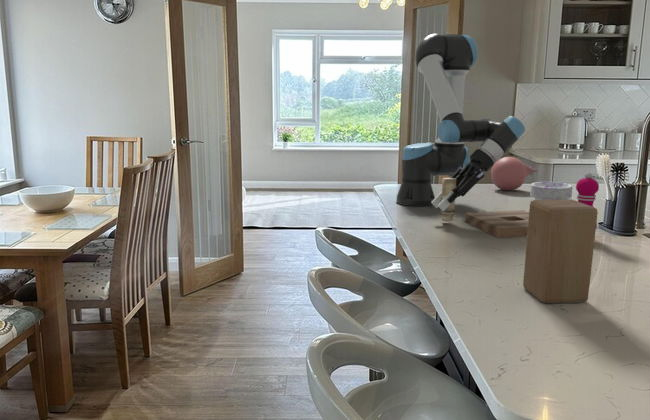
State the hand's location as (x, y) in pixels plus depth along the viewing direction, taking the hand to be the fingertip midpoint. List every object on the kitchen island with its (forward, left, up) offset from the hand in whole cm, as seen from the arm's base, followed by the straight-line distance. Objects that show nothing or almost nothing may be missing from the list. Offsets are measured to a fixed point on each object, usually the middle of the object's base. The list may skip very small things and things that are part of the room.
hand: (437, 206), depth 178 cm
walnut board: (+10, +22, -6) cm, 25 cm away
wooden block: (+67, -4, -6) cm, 67 cm away
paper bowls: (-23, +60, -6) cm, 64 cm away
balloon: (-54, +63, -6) cm, 83 cm away
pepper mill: (+28, +34, -6) cm, 44 cm away
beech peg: (0, +4, -5) cm, 6 cm away
